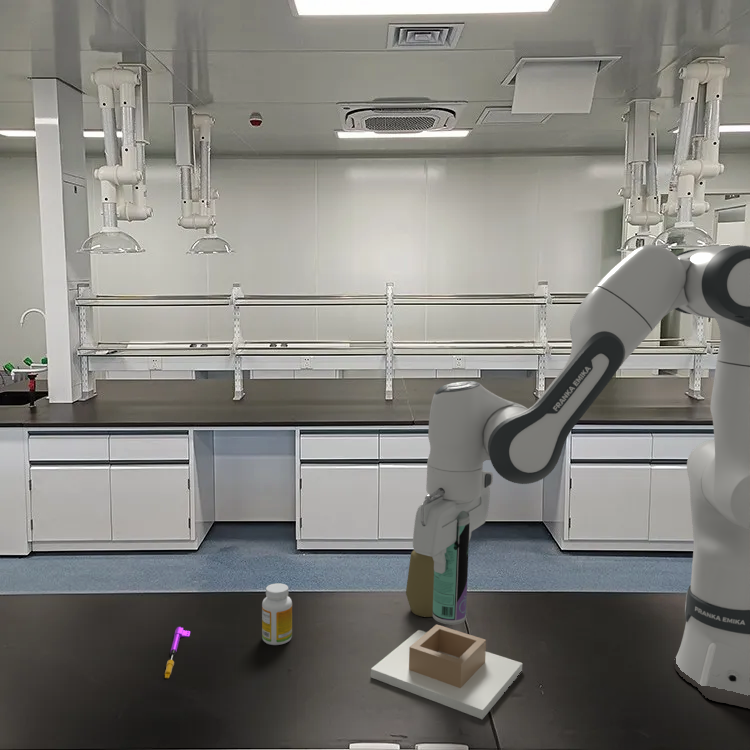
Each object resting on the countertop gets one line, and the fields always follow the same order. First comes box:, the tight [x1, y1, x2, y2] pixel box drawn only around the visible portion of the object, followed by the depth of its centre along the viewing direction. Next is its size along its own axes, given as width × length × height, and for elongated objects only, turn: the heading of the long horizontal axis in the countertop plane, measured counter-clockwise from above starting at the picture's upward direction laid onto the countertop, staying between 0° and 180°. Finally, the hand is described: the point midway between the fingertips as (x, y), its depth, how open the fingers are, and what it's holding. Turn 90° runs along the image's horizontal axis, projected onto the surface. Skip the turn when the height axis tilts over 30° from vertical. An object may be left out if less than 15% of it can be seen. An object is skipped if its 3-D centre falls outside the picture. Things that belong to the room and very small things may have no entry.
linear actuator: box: [164, 626, 191, 679], centre depth 124 cm, size 3×1×16 cm
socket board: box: [370, 624, 523, 720], centre depth 119 cm, size 20×16×6 cm
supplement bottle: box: [261, 582, 293, 646], centre depth 129 cm, size 5×5×10 cm
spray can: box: [432, 511, 470, 626], centre depth 116 cm, size 6×6×20 cm
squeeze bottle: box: [405, 549, 434, 618], centre depth 140 cm, size 8×8×18 cm
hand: (450, 564), depth 117 cm, fingers closed on spray can, 5 cm apart
